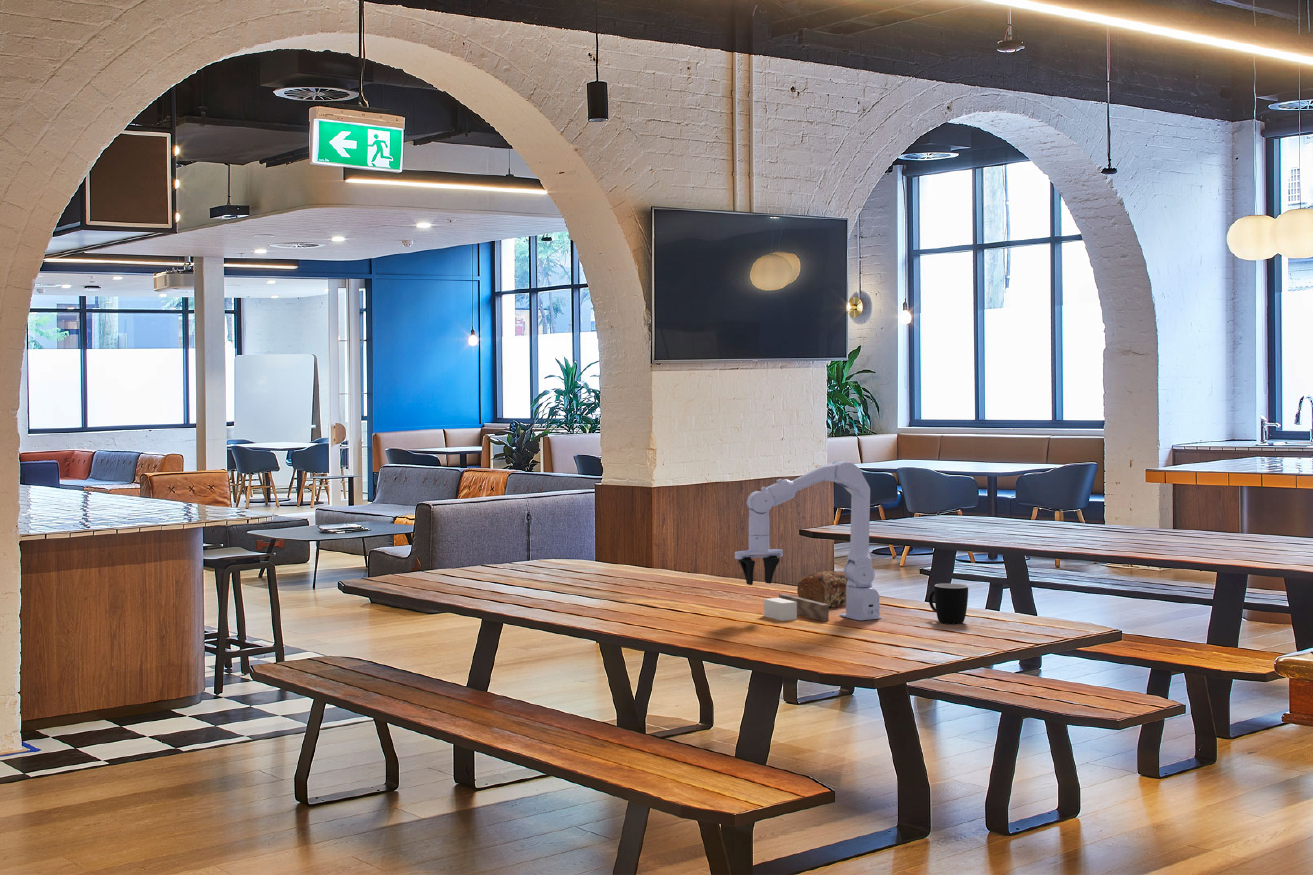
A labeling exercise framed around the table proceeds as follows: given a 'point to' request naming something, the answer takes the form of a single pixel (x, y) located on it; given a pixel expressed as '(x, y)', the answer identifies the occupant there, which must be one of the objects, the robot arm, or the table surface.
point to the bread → (824, 587)
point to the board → (809, 607)
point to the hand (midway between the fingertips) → (758, 583)
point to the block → (780, 609)
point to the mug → (950, 603)
